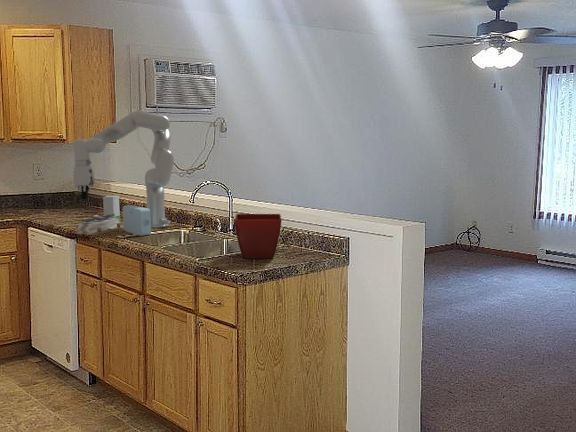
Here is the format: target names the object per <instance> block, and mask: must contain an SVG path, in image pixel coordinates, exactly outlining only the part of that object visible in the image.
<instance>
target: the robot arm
mask: <svg viewBox="0 0 576 432" xmlns="http://www.w3.org/2000/svg"><path fill="white" fill-rule="evenodd" d="M170 125H171V122H170V120H169V117H167V115H166V116H165V115H163V114H159V113H152V112H148V111H144V110H135V111H132V112H130V113H129V114H127V115H125V116H124V117H122V118H120V120H118V121H116V122H114V123H113V124H111V125H109V126H108V127H106V128H104V129H103V130H101V131H98V132H97V133H95V134H94V135H93V136H91V137H90V138H88V139H87V138H79V139H74V140H73V143H72V144H73V156H74V158H73V159H74V166H73V184H74V187H75V188H77V189H78V190H79V192H80V195H81V196H80V197H81V200H88V199H89V190H90V189H92V188H94V184H95V174H94V170H93V167H92V165H91V164H92V161H91V157H90V155H91V154H90V153H96V154H100V153H102V152H104V151H105V149H106V145H108V144H111V143H112V142H115V141H119V140H121V139H123V138H125V137H126V136H128V135H130V134H131V133H132V132H135V131H136V130H137V129H139V128H144V129H149V130H150V131H151V132H152V133H153V136H154V140H153V146H152V150H151V156H150V162H151V163H152V164H153V166H155V167H153V168H150V169H148V170H147V171H146V173H145V175H144V185H145V191H146V208H147V209H150V213H151V229H152V228H153V229H154V228H166V227H168V226H169V225H170V224H171V221H172V220H169V219H168V217H166V209H165V207H166V206H165V204H166V203H165V202H166V201H165V188H164V187H166V186H167V185H168V184H169V182H170V180H171V177H172V173H173V168H174V161H175V158H174V155H173V152H172V151H170V146H171V133H170V130H169V128H170Z"/></svg>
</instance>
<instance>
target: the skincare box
mask: <svg viewBox="0 0 576 432" xmlns="http://www.w3.org/2000/svg"><path fill="white" fill-rule="evenodd" d="M102 203H103V206H102V208H103V215H111V214H115V216H113V217H111V218H115V219H119V223H121V213H120V196H119V195H106V196H102Z"/></svg>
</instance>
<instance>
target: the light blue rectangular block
mask: <svg viewBox="0 0 576 432" xmlns="http://www.w3.org/2000/svg"><path fill="white" fill-rule="evenodd" d="M122 222H123V223H122V224H123V225H122V226H123V228H124V229H123V231H125V232H126V233H129V234H134V235H137V236H141V237H142V236H143V237H144V236H151V235H152V228H151V213H150V209H147V207H143V206H137V205H135V204H134V205H133V204H131V205H130V204H129V205H123V206H122Z"/></svg>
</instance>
